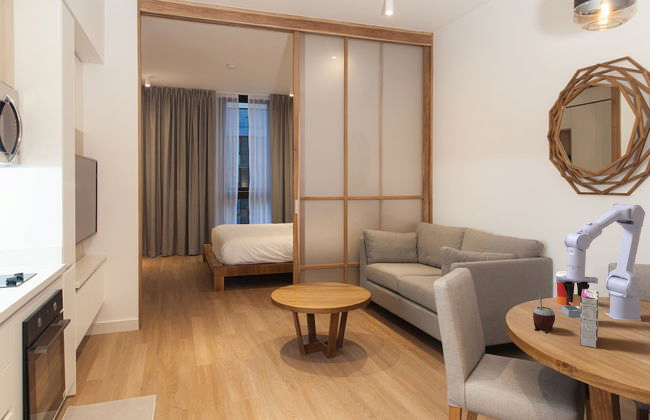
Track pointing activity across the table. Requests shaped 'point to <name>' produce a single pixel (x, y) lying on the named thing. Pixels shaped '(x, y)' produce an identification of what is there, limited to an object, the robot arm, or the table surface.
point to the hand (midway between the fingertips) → (574, 301)
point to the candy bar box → (589, 318)
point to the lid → (577, 302)
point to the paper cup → (562, 291)
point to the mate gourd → (543, 317)
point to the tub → (571, 311)
